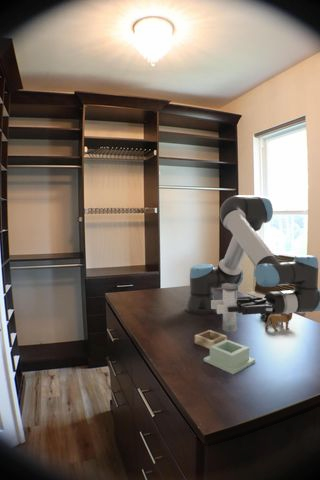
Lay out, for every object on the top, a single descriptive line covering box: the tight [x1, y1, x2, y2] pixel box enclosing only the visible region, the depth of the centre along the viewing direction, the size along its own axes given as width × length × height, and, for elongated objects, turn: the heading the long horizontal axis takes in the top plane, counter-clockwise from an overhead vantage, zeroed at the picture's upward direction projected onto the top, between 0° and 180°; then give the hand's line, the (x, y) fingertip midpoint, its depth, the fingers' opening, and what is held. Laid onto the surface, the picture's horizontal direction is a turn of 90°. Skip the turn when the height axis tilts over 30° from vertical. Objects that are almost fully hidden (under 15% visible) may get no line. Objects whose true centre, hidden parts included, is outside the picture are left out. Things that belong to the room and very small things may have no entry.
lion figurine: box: [264, 313, 294, 332], centre depth 135 cm, size 15×5×9 cm, turn 117°
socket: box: [203, 339, 256, 375], centre depth 106 cm, size 12×12×5 cm
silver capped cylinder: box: [221, 283, 239, 333], centre depth 105 cm, size 5×5×15 cm
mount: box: [194, 329, 228, 350], centre depth 121 cm, size 9×9×3 cm
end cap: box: [260, 313, 278, 324], centre depth 147 cm, size 10×7×7 cm
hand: (214, 307), depth 104 cm, fingers closed on silver capped cylinder, 5 cm apart
